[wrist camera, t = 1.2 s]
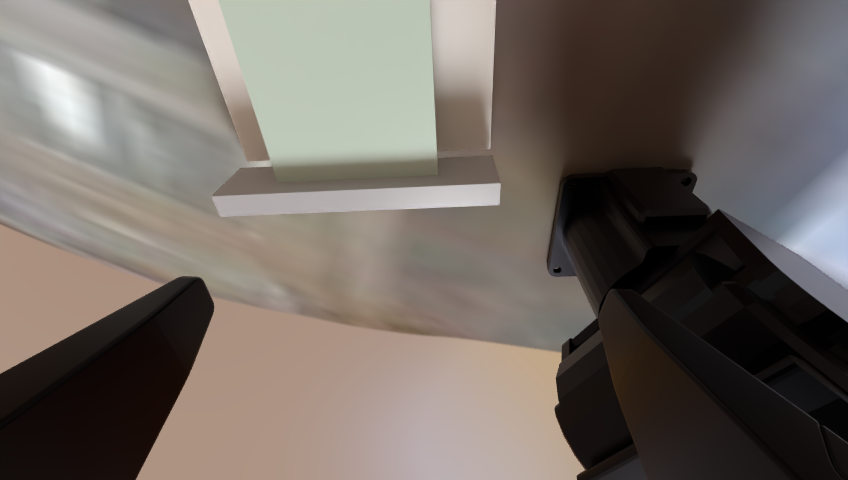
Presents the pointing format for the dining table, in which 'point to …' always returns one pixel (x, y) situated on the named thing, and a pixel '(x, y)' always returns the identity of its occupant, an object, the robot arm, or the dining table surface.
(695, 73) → the dining table surface
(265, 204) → the green block on base
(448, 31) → the dock
